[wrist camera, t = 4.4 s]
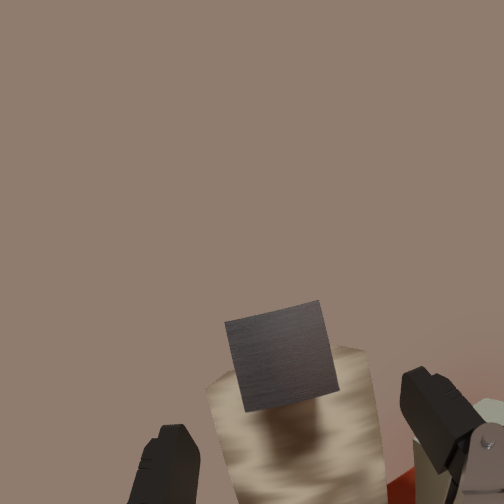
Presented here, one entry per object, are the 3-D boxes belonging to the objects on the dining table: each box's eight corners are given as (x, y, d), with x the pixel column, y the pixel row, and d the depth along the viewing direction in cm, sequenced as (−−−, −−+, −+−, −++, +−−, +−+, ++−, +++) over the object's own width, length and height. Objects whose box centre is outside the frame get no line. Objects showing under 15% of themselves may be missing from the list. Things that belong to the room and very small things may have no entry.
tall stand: (283, 608, 10) (205, 388, 19) (284, 564, 20) (228, 371, 29) (388, 584, 10) (365, 350, 19) (369, 544, 20) (338, 345, 29)
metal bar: (245, 412, 11) (224, 322, 12) (265, 361, 32) (258, 328, 33) (339, 390, 11) (318, 300, 12) (299, 353, 32) (292, 320, 33)
